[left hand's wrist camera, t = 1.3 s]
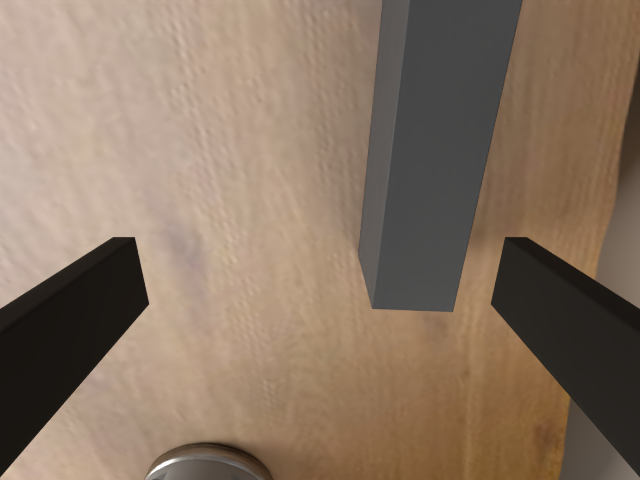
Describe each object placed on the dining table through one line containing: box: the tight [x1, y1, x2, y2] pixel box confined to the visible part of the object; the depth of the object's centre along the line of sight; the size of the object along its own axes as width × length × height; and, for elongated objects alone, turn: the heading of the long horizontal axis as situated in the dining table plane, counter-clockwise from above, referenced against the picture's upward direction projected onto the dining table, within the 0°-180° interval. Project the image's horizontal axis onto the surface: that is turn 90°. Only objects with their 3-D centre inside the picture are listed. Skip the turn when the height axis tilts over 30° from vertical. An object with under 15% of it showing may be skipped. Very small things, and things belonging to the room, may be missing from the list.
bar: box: [358, 0, 522, 312], centre depth 22 cm, size 21×5×8 cm, turn 177°
